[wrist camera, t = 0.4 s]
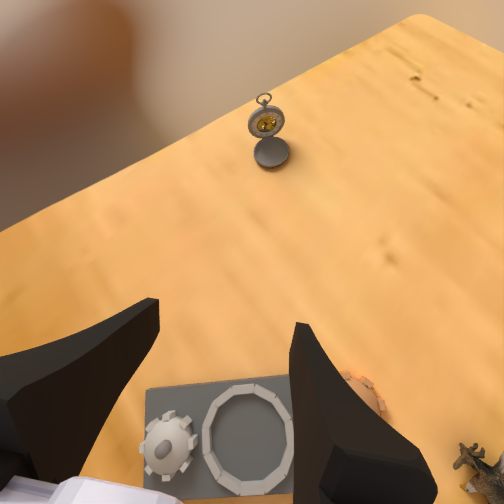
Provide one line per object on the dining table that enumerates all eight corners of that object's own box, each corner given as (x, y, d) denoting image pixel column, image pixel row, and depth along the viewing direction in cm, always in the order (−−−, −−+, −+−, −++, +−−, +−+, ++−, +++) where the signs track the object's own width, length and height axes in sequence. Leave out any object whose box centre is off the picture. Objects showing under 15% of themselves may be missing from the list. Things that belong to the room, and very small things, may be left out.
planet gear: (389, 438, 33) (409, 458, 28) (324, 443, 34) (331, 463, 28) (373, 368, 36) (388, 374, 30) (312, 374, 36) (317, 380, 31)
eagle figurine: (424, 467, 31) (489, 570, 26) (479, 465, 26) (572, 592, 21) (452, 436, 35) (514, 520, 30) (505, 428, 30) (589, 529, 25)
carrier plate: (305, 485, 33) (308, 511, 28) (148, 495, 34) (127, 521, 30) (289, 374, 37) (290, 380, 32) (150, 388, 38) (132, 395, 34)
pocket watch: (271, 175, 47) (268, 135, 38) (240, 151, 50) (230, 108, 40) (301, 147, 48) (305, 102, 39) (270, 125, 51) (267, 77, 41)
